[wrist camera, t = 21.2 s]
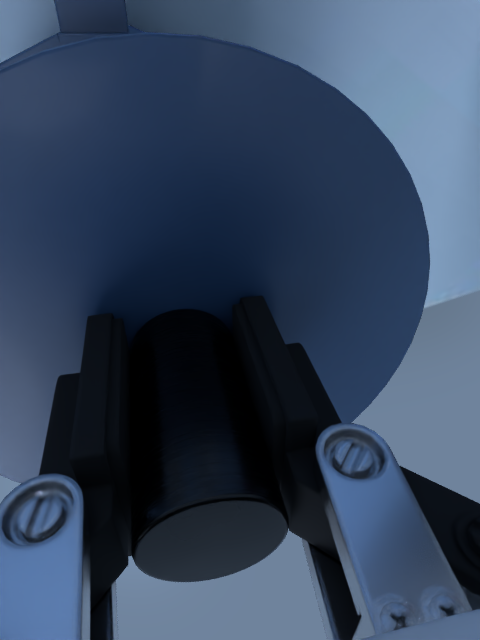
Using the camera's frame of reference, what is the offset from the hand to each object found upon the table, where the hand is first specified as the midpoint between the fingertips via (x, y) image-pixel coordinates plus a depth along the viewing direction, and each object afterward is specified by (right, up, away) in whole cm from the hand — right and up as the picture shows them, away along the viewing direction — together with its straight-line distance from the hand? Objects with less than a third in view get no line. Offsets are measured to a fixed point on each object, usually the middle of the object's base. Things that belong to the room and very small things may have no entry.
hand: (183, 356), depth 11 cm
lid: (0, 0, +1) cm, 1 cm away
